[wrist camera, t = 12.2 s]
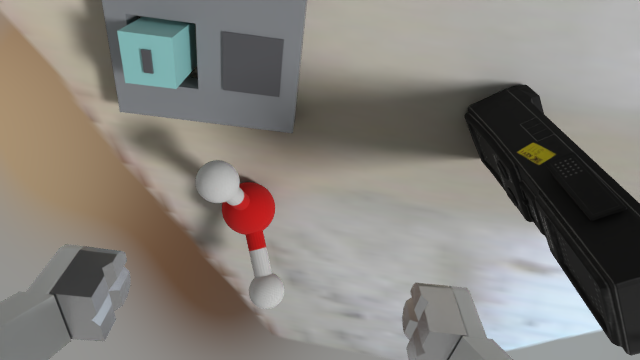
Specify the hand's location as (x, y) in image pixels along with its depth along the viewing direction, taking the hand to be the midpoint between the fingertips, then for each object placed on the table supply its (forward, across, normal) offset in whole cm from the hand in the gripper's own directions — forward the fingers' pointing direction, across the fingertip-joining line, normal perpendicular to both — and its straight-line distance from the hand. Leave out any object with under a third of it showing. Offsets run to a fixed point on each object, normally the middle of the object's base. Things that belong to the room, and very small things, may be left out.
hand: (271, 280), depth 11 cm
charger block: (+28, +12, +3) cm, 31 cm away
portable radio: (+28, -20, +6) cm, 35 cm away
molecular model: (+28, +4, +19) cm, 34 cm away
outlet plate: (+28, +8, +2) cm, 30 cm away
